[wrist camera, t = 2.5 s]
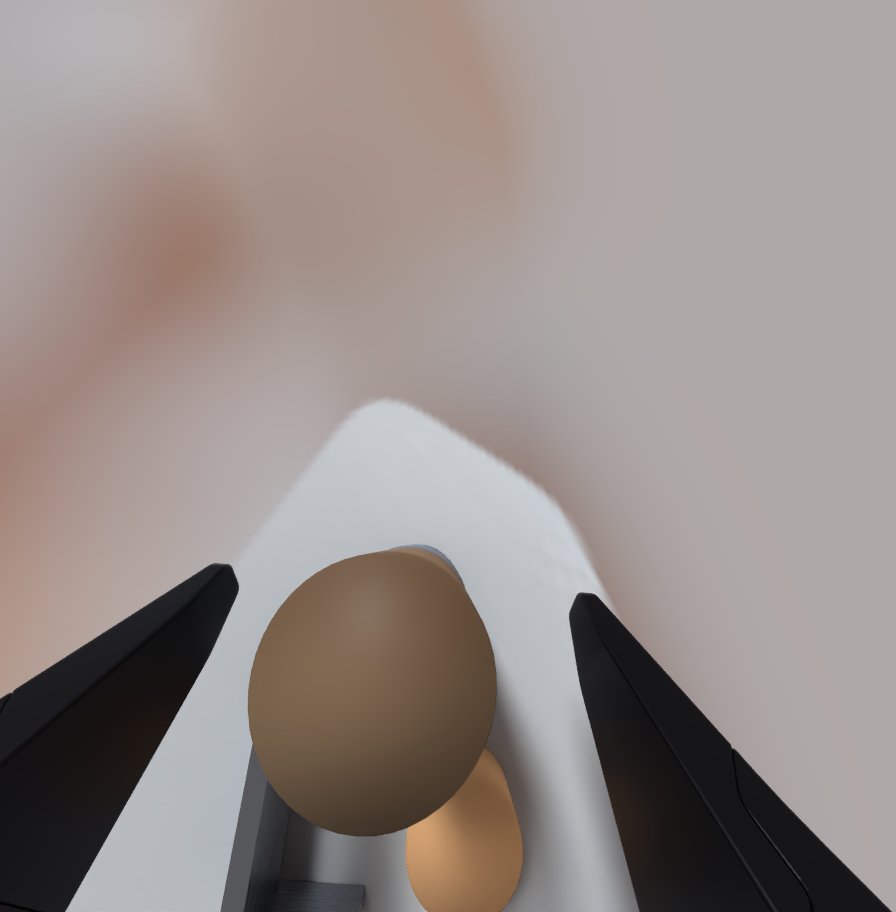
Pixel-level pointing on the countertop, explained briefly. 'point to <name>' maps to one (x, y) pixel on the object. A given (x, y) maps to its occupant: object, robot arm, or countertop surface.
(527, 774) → the countertop surface
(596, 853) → the countertop surface
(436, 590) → the ball
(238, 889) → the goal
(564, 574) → the countertop surface
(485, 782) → the tan rounded block
